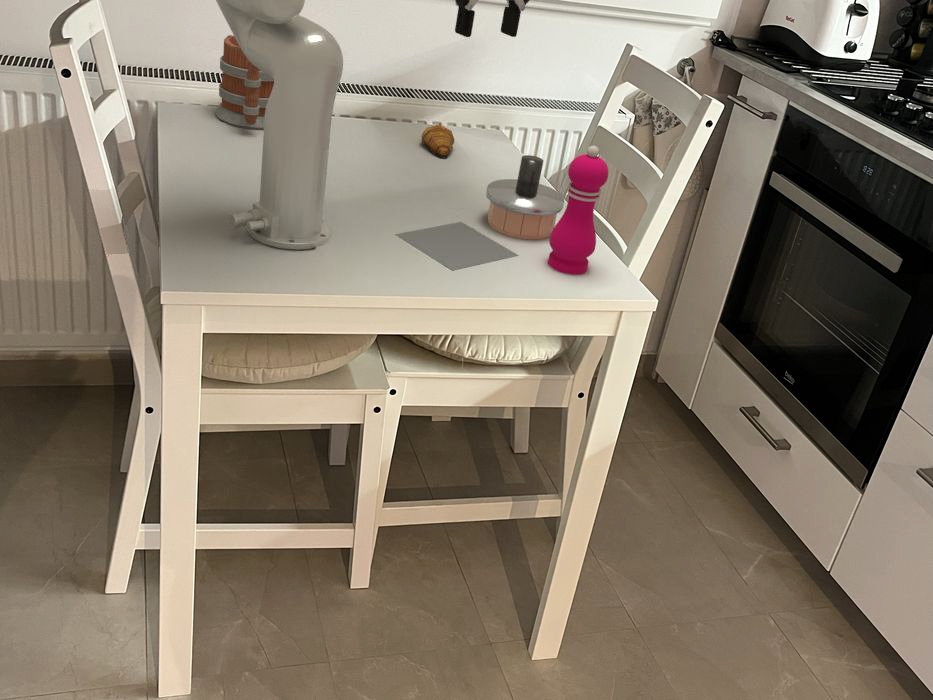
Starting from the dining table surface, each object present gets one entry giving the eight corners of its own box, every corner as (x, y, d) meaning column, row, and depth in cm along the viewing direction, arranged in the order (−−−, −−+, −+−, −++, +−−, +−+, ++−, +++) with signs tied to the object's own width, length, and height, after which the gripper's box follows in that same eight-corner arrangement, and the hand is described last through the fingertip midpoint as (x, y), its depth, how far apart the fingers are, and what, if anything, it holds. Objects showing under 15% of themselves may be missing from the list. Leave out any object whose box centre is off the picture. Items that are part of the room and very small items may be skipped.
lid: (523, 220, 159) (532, 177, 155) (470, 190, 167) (477, 149, 163) (578, 209, 167) (588, 168, 163) (525, 182, 175) (533, 142, 171)
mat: (451, 272, 149) (452, 270, 149) (394, 236, 158) (395, 234, 158) (518, 257, 158) (518, 255, 158) (460, 224, 167) (461, 221, 166)
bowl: (518, 245, 162) (524, 217, 160) (474, 220, 169) (479, 192, 167) (564, 235, 169) (570, 208, 167) (520, 211, 176) (525, 184, 174)
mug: (288, 111, 205) (293, 37, 198) (287, 142, 189) (293, 62, 181) (218, 104, 202) (220, 28, 195) (211, 134, 186) (213, 53, 179)
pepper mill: (561, 254, 162) (587, 135, 152) (598, 271, 158) (627, 150, 149) (535, 264, 157) (560, 141, 147) (572, 282, 153) (601, 157, 144)
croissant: (460, 161, 195) (464, 137, 193) (426, 159, 194) (430, 134, 191) (445, 138, 207) (449, 115, 204) (413, 136, 205) (416, 112, 202)
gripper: (479, -81, 141) (459, 41, 149) (563, -73, 152) (540, 40, 160) (445, -91, 146) (428, 28, 154) (529, -83, 157) (509, 28, 165)
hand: (485, 34), depth 157 cm, fingers open, 9 cm apart
